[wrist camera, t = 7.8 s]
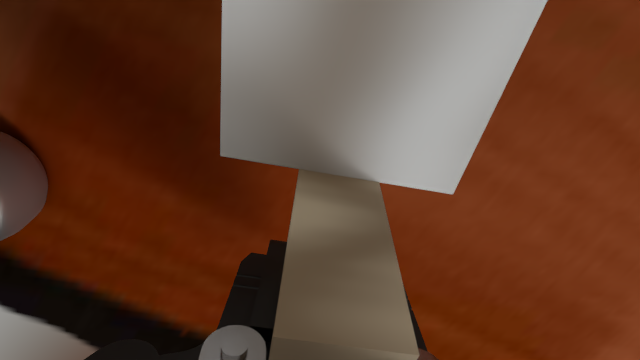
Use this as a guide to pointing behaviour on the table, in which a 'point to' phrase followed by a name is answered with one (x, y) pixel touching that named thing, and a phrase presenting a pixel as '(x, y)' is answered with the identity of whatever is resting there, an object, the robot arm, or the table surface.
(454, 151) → the scraper
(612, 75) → the table surface
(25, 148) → the plastic bottle
